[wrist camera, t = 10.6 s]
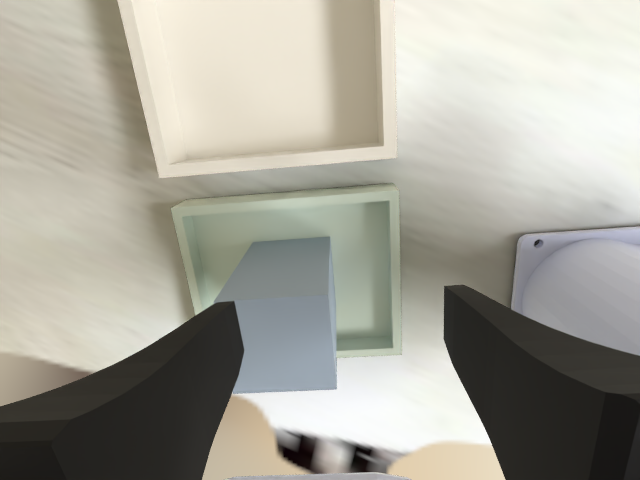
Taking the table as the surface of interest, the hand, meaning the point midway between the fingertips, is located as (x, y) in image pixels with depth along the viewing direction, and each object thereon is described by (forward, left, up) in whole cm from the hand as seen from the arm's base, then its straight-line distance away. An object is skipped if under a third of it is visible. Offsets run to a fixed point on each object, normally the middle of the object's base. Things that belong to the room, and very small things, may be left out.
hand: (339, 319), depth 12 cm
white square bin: (+3, -10, -9) cm, 14 cm away
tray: (+3, +2, -9) cm, 10 cm away
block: (+3, +2, -9) cm, 9 cm away
